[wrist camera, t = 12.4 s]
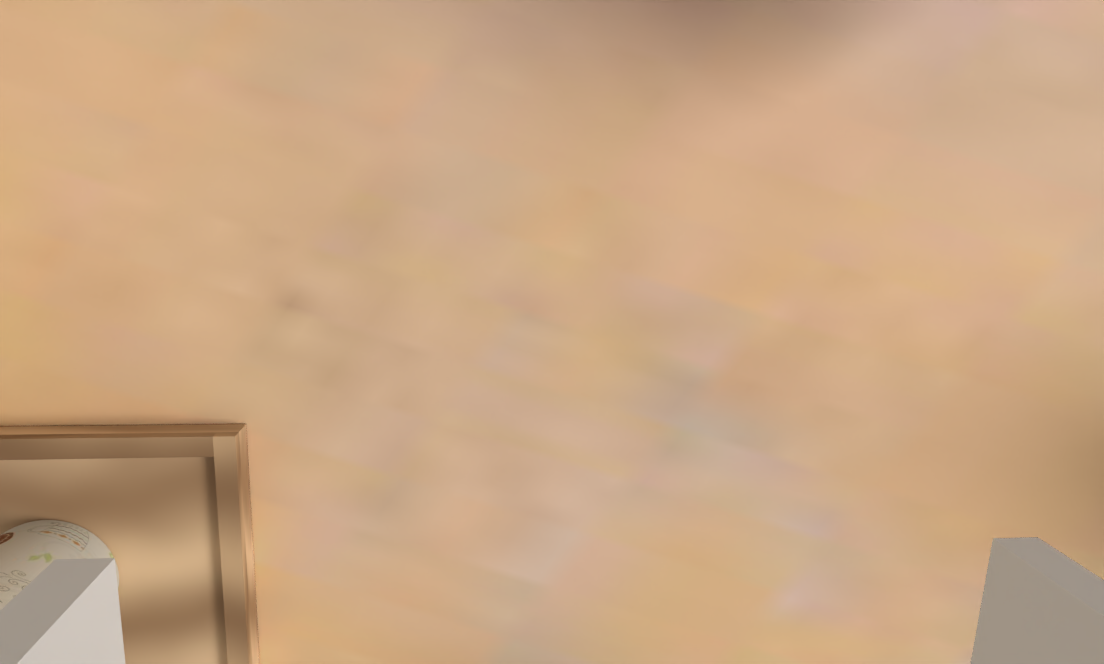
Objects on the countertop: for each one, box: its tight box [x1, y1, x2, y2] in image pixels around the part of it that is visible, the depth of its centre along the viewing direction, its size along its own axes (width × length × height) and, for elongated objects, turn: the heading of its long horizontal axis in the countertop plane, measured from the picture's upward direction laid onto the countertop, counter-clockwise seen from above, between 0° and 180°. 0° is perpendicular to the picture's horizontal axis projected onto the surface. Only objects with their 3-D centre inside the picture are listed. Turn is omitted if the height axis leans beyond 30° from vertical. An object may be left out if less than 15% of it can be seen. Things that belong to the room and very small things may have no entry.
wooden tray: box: [0, 424, 260, 664], centre depth 35 cm, size 18×18×2 cm
